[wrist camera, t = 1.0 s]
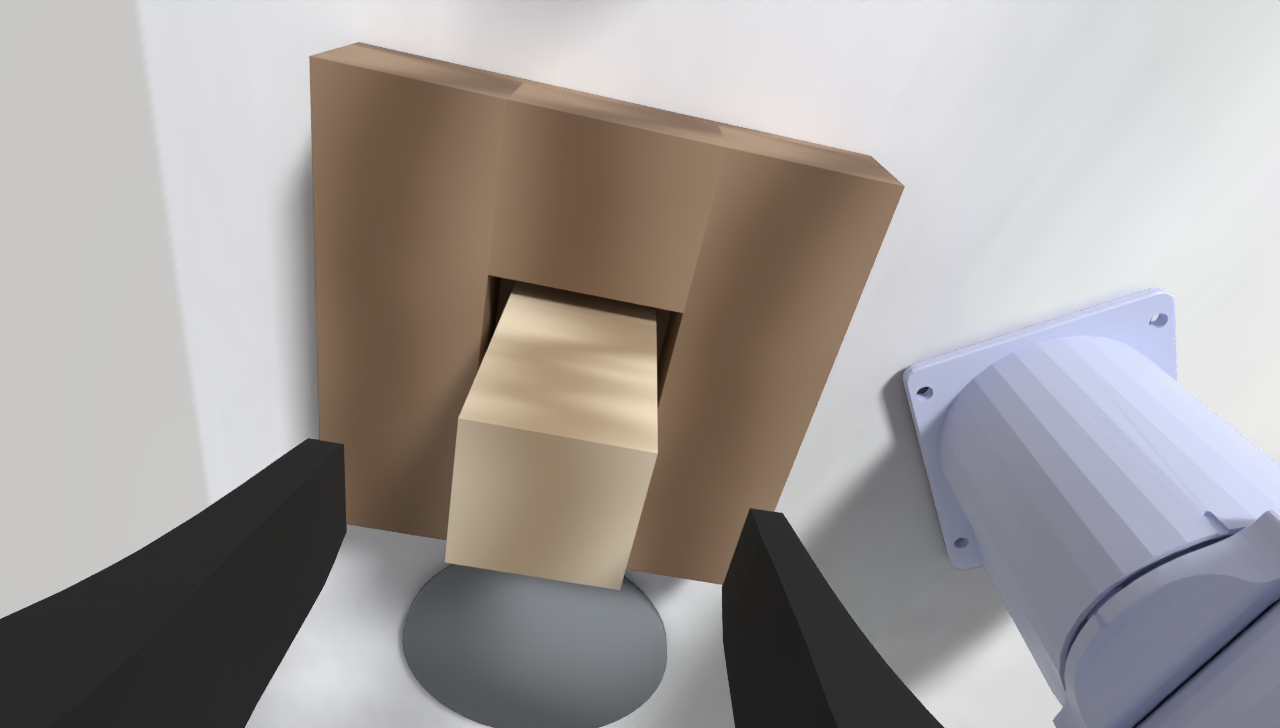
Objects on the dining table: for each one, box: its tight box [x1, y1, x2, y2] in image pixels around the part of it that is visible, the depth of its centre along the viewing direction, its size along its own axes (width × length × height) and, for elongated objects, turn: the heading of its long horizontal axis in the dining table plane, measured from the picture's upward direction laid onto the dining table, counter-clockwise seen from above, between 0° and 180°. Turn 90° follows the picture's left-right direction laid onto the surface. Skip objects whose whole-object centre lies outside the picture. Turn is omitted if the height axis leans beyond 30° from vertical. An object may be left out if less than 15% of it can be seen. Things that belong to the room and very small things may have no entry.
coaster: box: [403, 564, 667, 728], centre depth 30 cm, size 11×11×1 cm
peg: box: [445, 281, 658, 590], centre depth 18 cm, size 4×4×8 cm
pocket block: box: [309, 42, 905, 585], centre depth 21 cm, size 14×14×3 cm
